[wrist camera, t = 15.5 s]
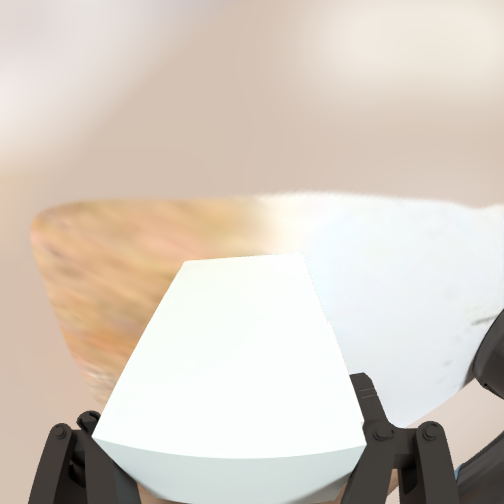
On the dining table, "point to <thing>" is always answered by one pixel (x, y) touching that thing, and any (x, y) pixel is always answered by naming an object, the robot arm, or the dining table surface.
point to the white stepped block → (236, 391)
